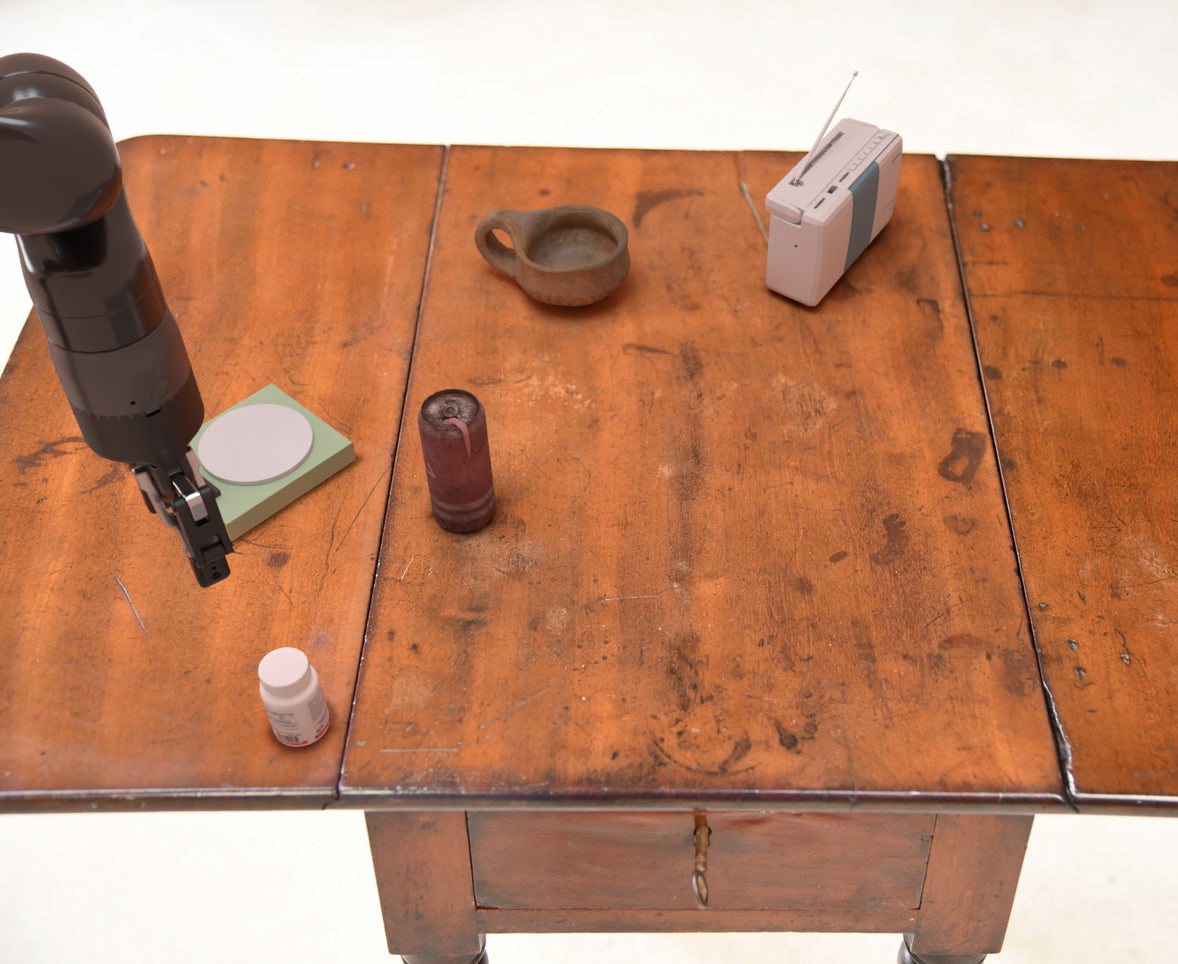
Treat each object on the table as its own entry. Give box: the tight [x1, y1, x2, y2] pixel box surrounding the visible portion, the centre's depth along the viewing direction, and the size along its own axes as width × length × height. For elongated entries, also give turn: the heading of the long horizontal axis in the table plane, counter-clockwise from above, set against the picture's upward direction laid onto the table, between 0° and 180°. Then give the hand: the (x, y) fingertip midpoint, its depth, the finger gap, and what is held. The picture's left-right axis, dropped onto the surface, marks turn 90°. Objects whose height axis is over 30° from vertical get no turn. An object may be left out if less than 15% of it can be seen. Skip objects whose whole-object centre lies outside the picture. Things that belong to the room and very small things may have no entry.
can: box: [417, 388, 497, 534], centre depth 132 cm, size 6×6×14 cm
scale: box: [189, 382, 357, 542], centre depth 139 cm, size 15×13×3 cm
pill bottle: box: [257, 646, 331, 748], centre depth 116 cm, size 5×5×8 cm
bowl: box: [474, 203, 631, 307], centre depth 158 cm, size 18×14×10 cm
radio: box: [764, 70, 904, 307], centre depth 160 cm, size 21×8×20 cm, turn 150°
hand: (189, 542), depth 99 cm, fingers open, 8 cm apart
